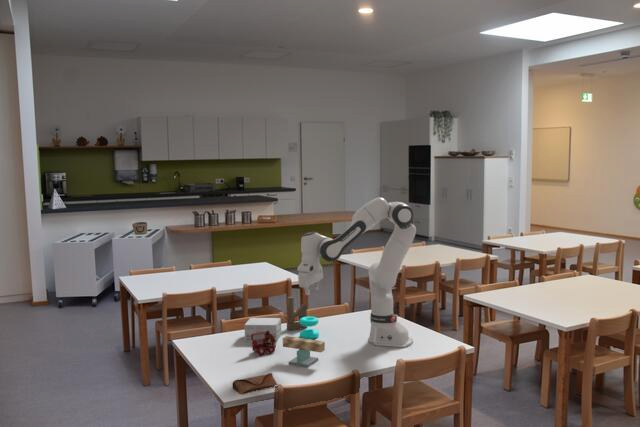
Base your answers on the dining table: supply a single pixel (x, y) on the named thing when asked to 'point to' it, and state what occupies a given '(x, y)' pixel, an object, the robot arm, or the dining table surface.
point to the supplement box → (263, 327)
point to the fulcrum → (303, 359)
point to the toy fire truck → (263, 343)
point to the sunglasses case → (254, 383)
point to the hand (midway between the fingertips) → (312, 292)
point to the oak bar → (304, 344)
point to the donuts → (309, 322)
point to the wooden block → (295, 314)
